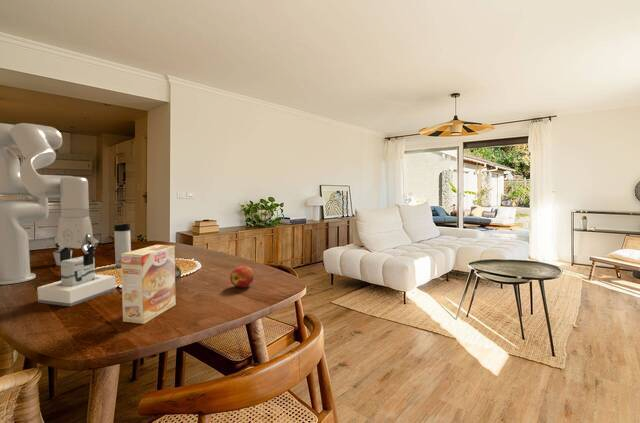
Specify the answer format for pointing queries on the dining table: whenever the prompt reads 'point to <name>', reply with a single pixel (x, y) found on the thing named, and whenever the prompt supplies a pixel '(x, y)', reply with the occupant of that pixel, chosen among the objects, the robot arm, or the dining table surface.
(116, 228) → the travel mug
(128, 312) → the coffeecake box
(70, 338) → the dining table surface
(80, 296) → the holder block
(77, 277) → the ink box
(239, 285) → the apple
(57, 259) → the house plant
